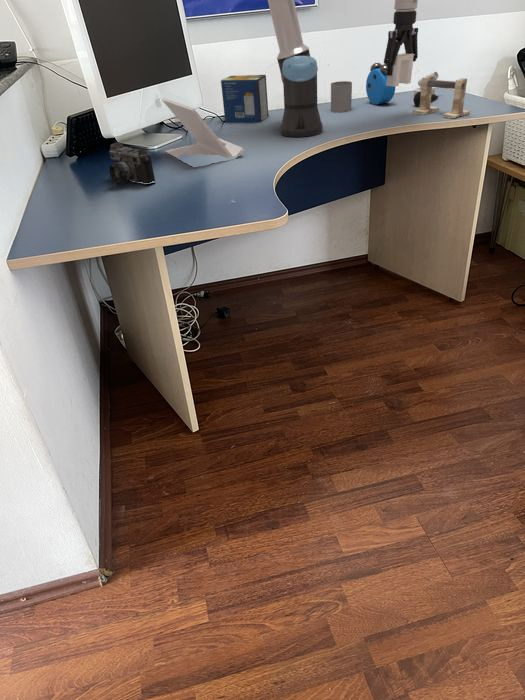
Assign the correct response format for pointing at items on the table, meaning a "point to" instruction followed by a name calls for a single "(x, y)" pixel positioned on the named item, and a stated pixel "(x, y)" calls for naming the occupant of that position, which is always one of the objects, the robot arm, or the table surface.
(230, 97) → the protein box
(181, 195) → the table surface
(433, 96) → the microphone
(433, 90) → the wall hook
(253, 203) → the table surface
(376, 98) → the alarm clock
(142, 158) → the camera
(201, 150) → the tablet stand
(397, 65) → the notched white block
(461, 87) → the hook stand
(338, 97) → the cup
